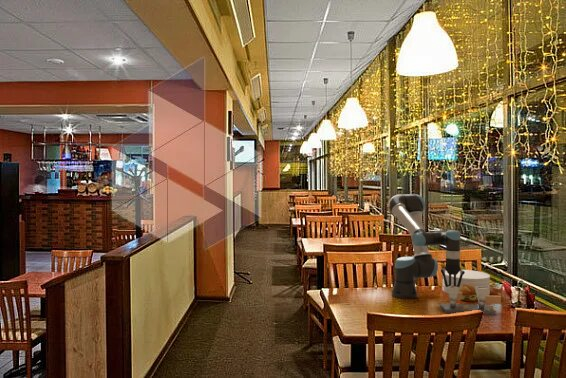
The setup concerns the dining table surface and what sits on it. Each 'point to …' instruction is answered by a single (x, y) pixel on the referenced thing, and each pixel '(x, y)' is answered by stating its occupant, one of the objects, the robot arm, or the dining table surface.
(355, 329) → the dining table surface
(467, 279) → the plate stack
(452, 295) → the coupling
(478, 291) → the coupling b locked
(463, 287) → the cheeseburger
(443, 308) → the lock plate
